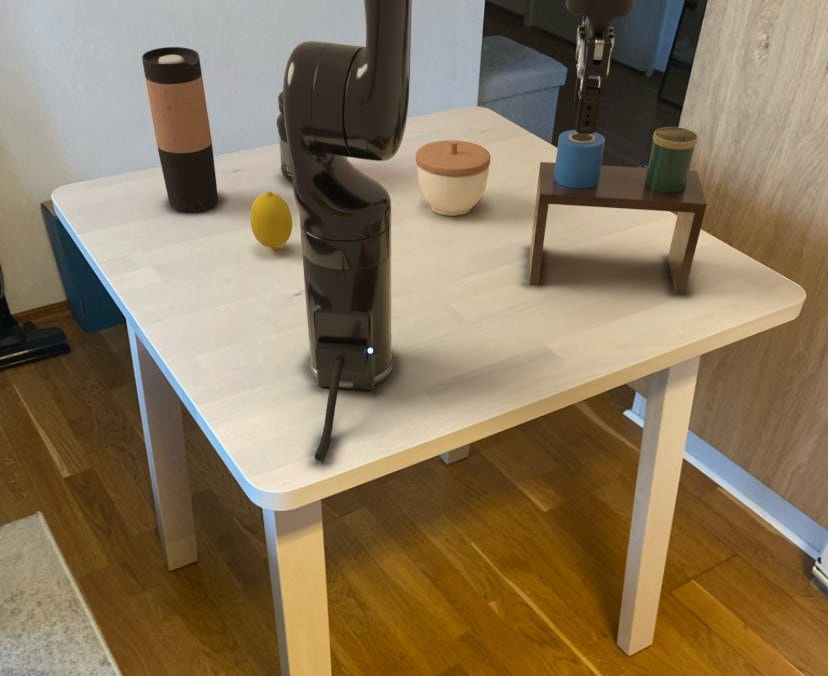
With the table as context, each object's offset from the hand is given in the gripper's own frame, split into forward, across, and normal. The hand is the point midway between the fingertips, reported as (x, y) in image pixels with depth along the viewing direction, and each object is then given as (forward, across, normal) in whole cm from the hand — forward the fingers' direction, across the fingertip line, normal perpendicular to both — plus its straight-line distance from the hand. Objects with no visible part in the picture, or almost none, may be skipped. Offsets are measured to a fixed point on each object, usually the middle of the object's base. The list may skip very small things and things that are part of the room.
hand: (583, 119), depth 106 cm
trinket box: (+19, -17, -16) cm, 30 cm away
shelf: (+19, 0, +6) cm, 20 cm away
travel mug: (+19, -13, -54) cm, 59 cm away
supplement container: (+19, -25, -38) cm, 50 cm away
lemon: (+19, 0, -39) cm, 44 cm away
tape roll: (+7, 0, 0) cm, 7 cm away
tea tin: (+7, 0, +11) cm, 13 cm away
